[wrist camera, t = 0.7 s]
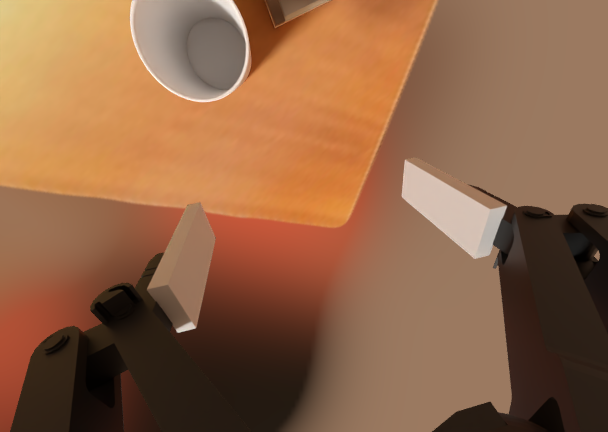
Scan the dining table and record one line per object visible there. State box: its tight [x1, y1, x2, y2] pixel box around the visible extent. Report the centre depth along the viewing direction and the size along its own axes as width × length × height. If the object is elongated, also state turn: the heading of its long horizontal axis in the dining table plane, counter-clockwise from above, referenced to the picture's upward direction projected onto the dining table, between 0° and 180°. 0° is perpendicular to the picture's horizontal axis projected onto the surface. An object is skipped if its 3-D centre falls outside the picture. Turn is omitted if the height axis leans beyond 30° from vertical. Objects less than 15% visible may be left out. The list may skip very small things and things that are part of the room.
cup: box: [130, 0, 251, 102], centre depth 25 cm, size 8×8×16 cm
